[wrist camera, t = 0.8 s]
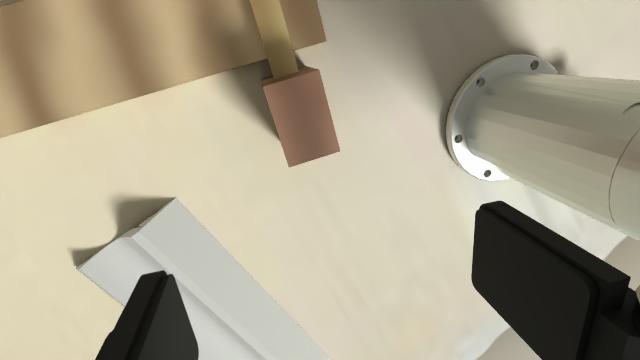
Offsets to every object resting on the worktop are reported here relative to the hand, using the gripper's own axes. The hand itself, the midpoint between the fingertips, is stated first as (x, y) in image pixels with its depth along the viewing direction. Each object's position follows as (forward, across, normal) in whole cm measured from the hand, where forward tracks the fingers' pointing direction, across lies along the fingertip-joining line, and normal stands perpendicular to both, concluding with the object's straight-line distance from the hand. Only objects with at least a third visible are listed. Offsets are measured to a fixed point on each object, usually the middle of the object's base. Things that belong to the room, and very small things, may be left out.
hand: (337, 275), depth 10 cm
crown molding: (+23, +9, +22) cm, 33 cm away
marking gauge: (+22, -1, -6) cm, 23 cm away
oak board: (+22, +10, -9) cm, 26 cm away
